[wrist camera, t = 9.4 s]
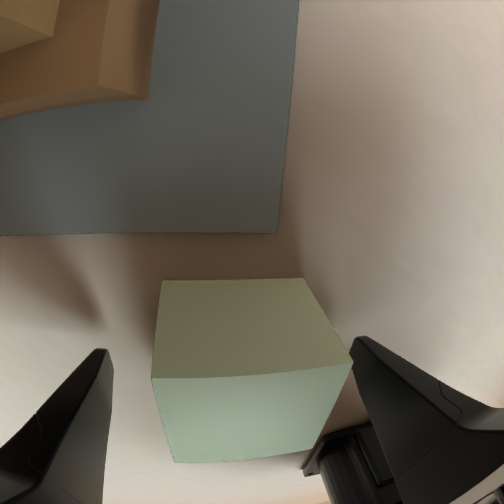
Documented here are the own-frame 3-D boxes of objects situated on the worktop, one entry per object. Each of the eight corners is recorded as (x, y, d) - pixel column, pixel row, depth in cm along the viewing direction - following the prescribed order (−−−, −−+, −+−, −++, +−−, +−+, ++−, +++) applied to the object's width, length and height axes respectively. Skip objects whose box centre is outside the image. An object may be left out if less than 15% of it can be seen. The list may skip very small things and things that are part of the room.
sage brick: (283, 368, 12) (311, 449, 8) (173, 374, 11) (174, 463, 7) (301, 275, 10) (353, 362, 6) (162, 278, 9) (150, 378, 6)
